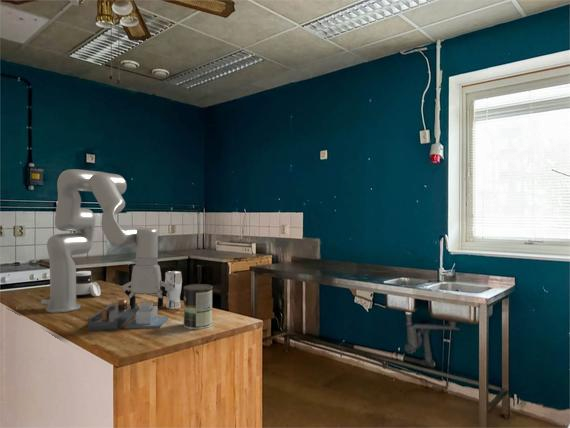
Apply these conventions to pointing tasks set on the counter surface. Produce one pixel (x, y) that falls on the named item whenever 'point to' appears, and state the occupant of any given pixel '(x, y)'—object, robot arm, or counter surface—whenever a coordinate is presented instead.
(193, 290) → the coffee can
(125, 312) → the body
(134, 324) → the mat
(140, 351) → the counter surface
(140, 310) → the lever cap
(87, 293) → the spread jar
